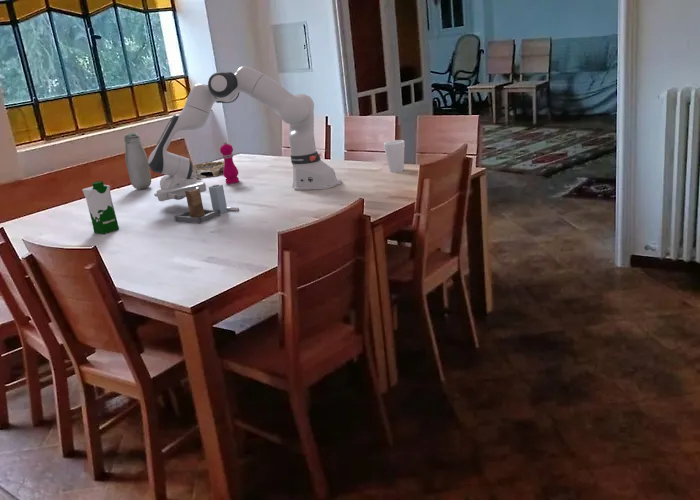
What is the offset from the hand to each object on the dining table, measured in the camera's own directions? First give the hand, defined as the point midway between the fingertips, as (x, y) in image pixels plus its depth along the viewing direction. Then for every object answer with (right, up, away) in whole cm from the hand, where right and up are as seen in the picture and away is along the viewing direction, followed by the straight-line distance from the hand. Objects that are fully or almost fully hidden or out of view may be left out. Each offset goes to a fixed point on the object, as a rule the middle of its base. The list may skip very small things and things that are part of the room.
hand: (186, 194), depth 281 cm
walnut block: (+6, -9, -6) cm, 13 cm away
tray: (+6, -10, -6) cm, 13 cm away
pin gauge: (+18, -6, 0) cm, 19 cm away
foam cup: (+88, +13, +30) cm, 94 cm away
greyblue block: (+14, -7, -1) cm, 16 cm away
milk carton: (-30, -15, -7) cm, 34 cm away
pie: (-6, +18, +82) cm, 84 cm away
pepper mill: (+10, +10, +52) cm, 53 cm away
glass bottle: (-37, +8, +63) cm, 74 cm away
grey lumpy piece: (-8, +7, +50) cm, 51 cm away
